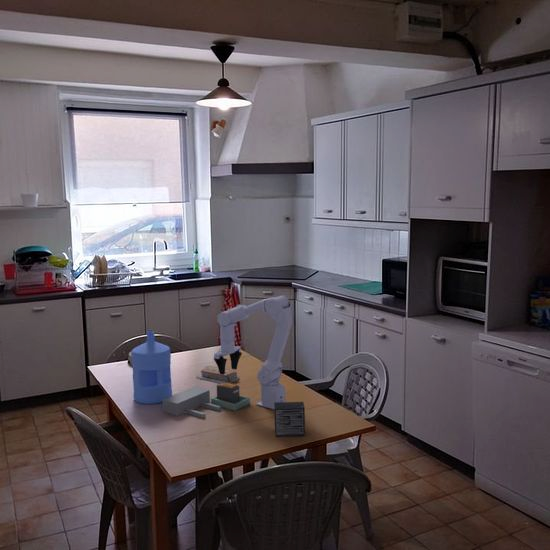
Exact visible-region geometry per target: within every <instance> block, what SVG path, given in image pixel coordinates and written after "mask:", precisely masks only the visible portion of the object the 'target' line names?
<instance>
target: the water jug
mask: <svg viewBox="0 0 550 550" xmlns="http://www.w3.org/2000/svg"><path fill="white" fill-rule="evenodd" d="M131 352H132V365H133V367H132V381H133V382H132V383H133V386H132V387H133V400H134V401H135V402H136V403H139V404H142V405H143V404H144V405H156V404H161V403H162V404H163V399H164V398H167V397H170V396H172V395H173V389H172V374H171V373H172V372H171V365H172V363H171V357H172V355H171V354H172V353H171V348H170V346H168V345H166V344H163V343H160V342H157V341H156V340H155V331H153V330H151V331H146V342H144V343H142V344H140V345H138V346H136V347H134V348H133V349H132V350H131Z"/></svg>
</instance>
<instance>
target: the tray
mask: <svg viewBox="0 0 550 550" xmlns="http://www.w3.org/2000/svg"><path fill="white" fill-rule="evenodd" d="M239 397H240V402H238V403H236V404H234V403H230V402H226V401H223V400H219V399H217V395H215V396H213V397H211V398H210V404H214V405H217V406H221V408H222V409H227V410H230V411H233V412H237V411H239V410H241V409H242V408H245V407H247V406H249V405H250V404H251V398H250V397H248V396H243V395H240V394H239Z"/></svg>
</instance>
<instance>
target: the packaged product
mask: <svg viewBox="0 0 550 550" xmlns="http://www.w3.org/2000/svg"><path fill="white" fill-rule="evenodd" d="M200 373H201V374H198V375H196V376H195V378H196V379H198V380H199V379H200V380H204V381H208V382H212V383H216V384H221V383H223V382H225V383H229V384H233V383H234V382H236V381H238V379H239V380H240V379H241V378H240V376H239V375H237V374H238V373H237V370H233V369H232V370H231V369H226V368H225V374H224V375H223V374H220V372H219V369H218V366H213V365H206V366H205V367H204V368H202V370H200Z"/></svg>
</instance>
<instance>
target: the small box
mask: <svg viewBox="0 0 550 550" xmlns="http://www.w3.org/2000/svg"><path fill="white" fill-rule="evenodd" d="M305 410H306V407H305V404H304V401H285V402H276V403H274V409H273V411H274V435H275V437H277V438H278V437H280V438H281V437H283V436H285V437H305V436H306V419H305V417H306V415H305V414H306V413H305ZM283 438H284V437H283Z"/></svg>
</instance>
